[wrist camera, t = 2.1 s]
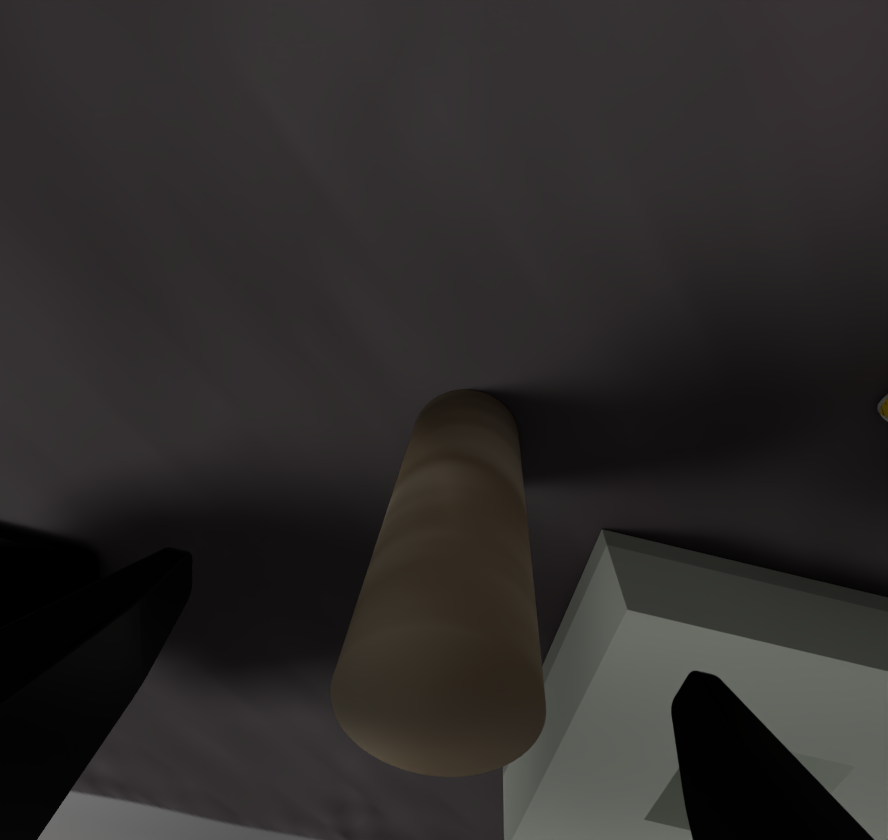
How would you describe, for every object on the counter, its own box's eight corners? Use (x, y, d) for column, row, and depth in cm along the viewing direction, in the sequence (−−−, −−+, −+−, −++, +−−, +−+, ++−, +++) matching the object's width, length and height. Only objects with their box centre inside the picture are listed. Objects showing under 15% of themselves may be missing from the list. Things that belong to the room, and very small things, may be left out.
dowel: (404, 471, 17) (317, 750, 8) (425, 378, 15) (345, 602, 7) (502, 494, 17) (511, 794, 8) (531, 403, 15) (576, 658, 7)
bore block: (502, 756, 22) (504, 854, 19) (602, 529, 17) (627, 610, 14) (779, 821, 22) (827, 928, 19) (959, 614, 17) (1066, 713, 14)
